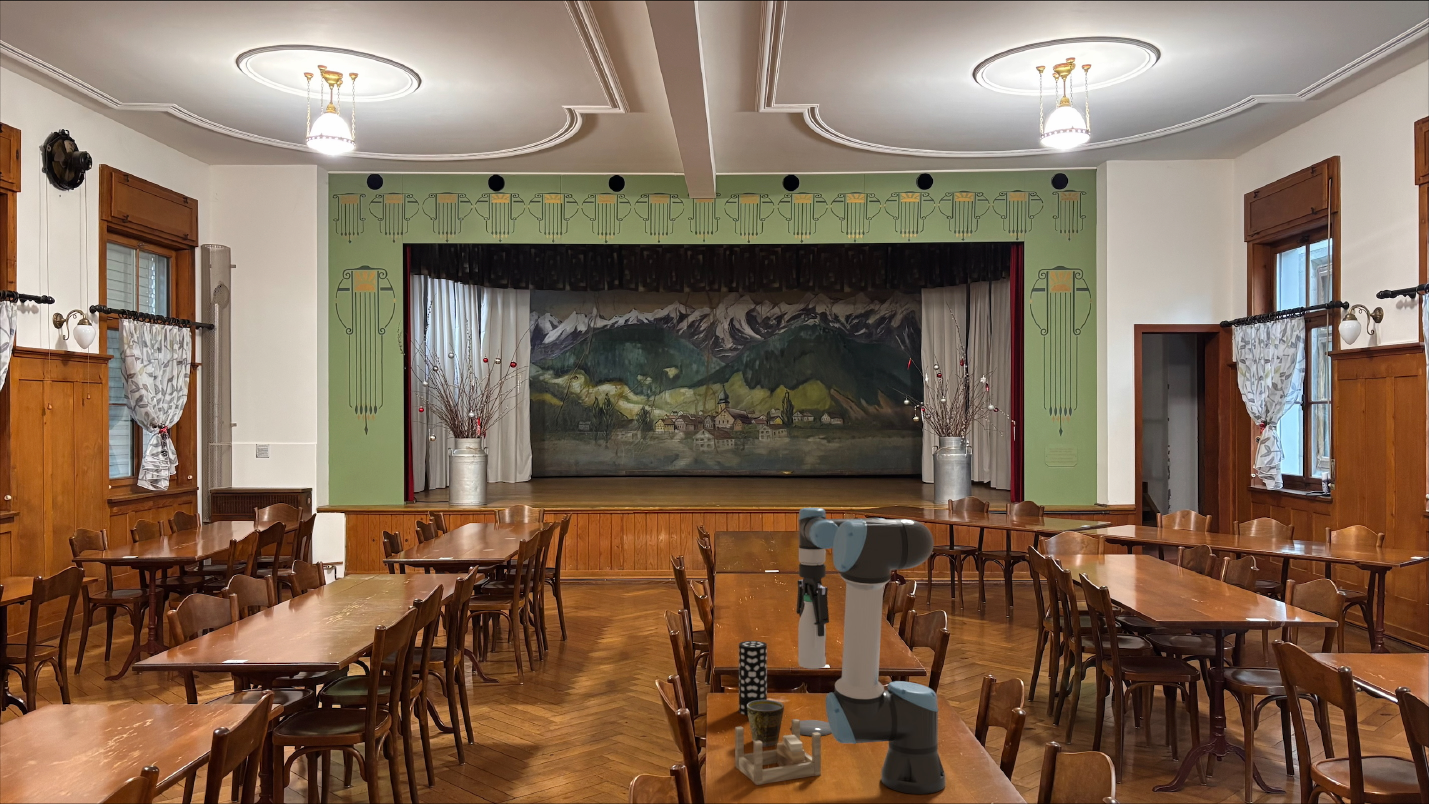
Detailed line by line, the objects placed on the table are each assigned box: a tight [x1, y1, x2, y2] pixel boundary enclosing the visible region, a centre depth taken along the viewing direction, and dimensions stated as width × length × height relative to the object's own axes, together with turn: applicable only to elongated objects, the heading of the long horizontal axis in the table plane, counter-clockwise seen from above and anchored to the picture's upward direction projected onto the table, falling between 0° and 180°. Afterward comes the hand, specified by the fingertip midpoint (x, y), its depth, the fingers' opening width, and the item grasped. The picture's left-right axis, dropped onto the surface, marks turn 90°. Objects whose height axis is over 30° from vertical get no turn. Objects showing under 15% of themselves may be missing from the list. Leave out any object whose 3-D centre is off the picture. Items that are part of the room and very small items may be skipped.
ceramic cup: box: [747, 699, 785, 748], centre depth 258 cm, size 13×10×10 cm
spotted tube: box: [738, 640, 768, 716], centre depth 286 cm, size 8×8×20 cm
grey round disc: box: [790, 719, 832, 737], centre depth 270 cm, size 12×12×1 cm
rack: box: [734, 718, 822, 786], centre depth 238 cm, size 13×17×10 cm
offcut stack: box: [776, 734, 806, 767], centre depth 240 cm, size 8×4×7 cm, turn 22°
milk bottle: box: [797, 594, 827, 670], centre depth 271 cm, size 8×8×20 cm
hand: (812, 643), depth 271 cm, fingers closed on milk bottle, 8 cm apart
